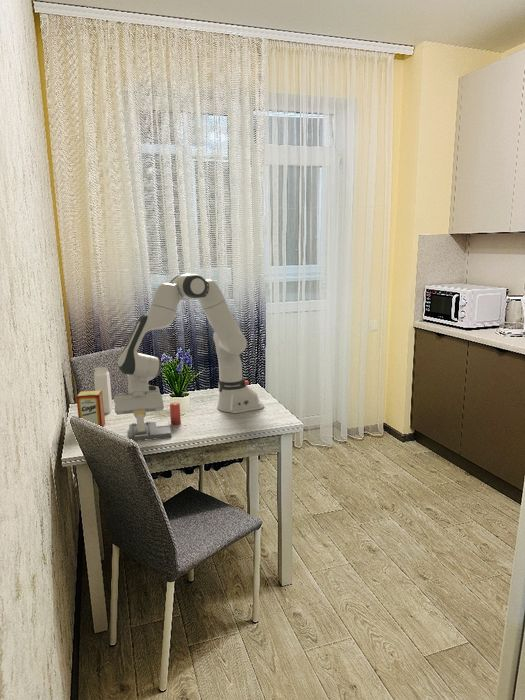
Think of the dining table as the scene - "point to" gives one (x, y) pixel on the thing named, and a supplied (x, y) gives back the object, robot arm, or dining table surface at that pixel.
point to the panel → (151, 430)
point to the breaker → (140, 422)
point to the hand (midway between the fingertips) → (140, 421)
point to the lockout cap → (175, 413)
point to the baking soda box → (91, 407)
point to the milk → (103, 386)
